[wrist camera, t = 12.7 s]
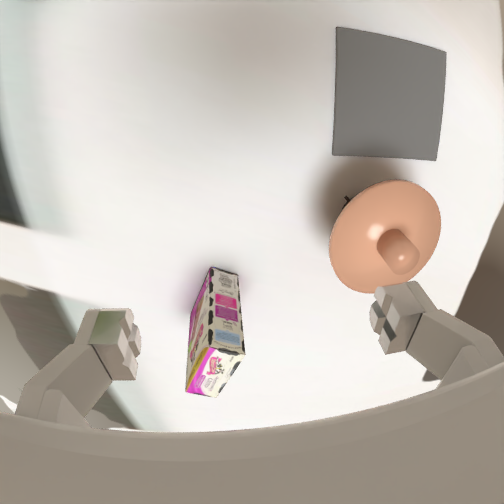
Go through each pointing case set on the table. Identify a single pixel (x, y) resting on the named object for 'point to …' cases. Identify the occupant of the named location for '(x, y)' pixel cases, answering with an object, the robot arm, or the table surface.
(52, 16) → the table surface
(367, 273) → the lid
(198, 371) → the candy bar box
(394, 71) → the mat
